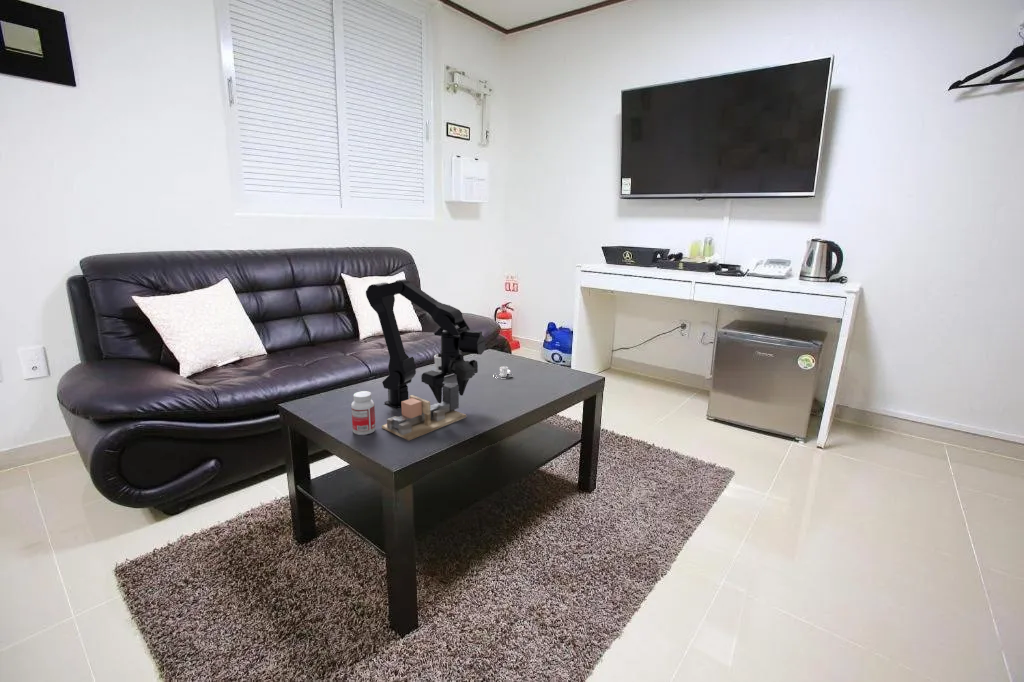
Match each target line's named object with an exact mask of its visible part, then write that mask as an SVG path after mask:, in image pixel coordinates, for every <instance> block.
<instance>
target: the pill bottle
mask: <svg viewBox="0 0 1024 682" xmlns="http://www.w3.org/2000/svg"><path fill="white" fill-rule="evenodd" d="M350 406H351V407H350V409H351V424H352V426H351V427H352V432H353V433H354V434H355V435H358V436H365V435H371V434H373V433H374V432H375V431H376V412H375V411H376V409H375V402H374V400H373V399H372V392H370V391H368V390H367V391H366V390H362V391H357V392H354V394H353V401H352V402H351V405H350Z"/></svg>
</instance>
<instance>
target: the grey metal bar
mask: <svg viewBox="0 0 1024 682" xmlns="http://www.w3.org/2000/svg"><path fill="white" fill-rule="evenodd" d="M459 399H460V394H459V385H458V384H456V383H453V382H449V383H446V384H445V385H444V386H443V387H442V401H441V403H438V402H437V403H434V404H430V418H433V411H436V410H438V409H443V410H445V413H446V412H449V411H452V410H455V411H456V410H457V409H459V408H460V405H459V404H460V403H459V402H460V400H459ZM406 421H408V422H411V426H412V425H415V424H417V423H420V422H423V421H425V414H424V413H422V415H419V416H416V417H414V418H411V419H410V418H408V417H406V416H403V415H402V414H401V415H400V416H397V417H396V418H394V419H393V427H394V428H396V429H398V430H399V424H400V423H403V422H406Z"/></svg>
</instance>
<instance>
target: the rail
mask: <svg viewBox="0 0 1024 682" xmlns="http://www.w3.org/2000/svg"><path fill="white" fill-rule="evenodd" d="M408 398H409V399H411V398H414V399H417V400H419V401H422V413H424V414H425V421H423V422H420V423H417V424H415V425H412V426H411V422H408V421H406V422H403V423H400V424H399V430H398V429H396V428H394V427H393V419H394V418H396V417H398V416H396V415H394V416H392V417H389V418H387V419H386V423H384V424H383V425H381V429H383V430H385V431H388V432H390V433H392V434H393V435H396V436H398V437H400V438H402V439H404V440H407V441H408V442H409V441H411V440H414V439H416V438H418V437H421V436H424V435H426V434H428V433H431V432H434V431H436V430H438V429H441V428H443V427H445V426H449V425H451V424H453V423H456V422H458V421H460V420H463V419H465V418H467V414H465V413H462V412H460V411H457V410H456V409H455V410H452V411H449V412H446V413H445V410H443V409H438V410H436V411H433V418H430V405H431V401H429V400H426V399H424V398H421V397H419V396H416V395H414V394H411V395H408Z"/></svg>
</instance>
